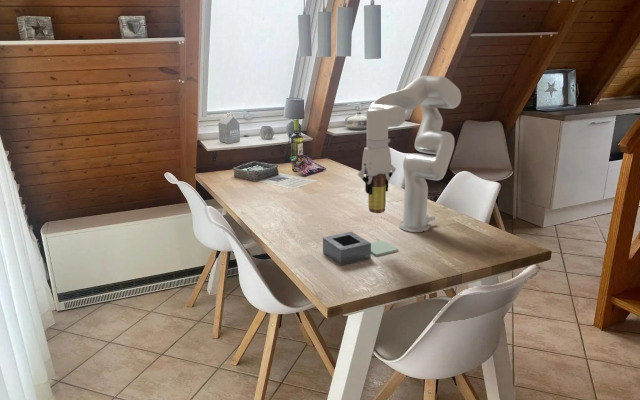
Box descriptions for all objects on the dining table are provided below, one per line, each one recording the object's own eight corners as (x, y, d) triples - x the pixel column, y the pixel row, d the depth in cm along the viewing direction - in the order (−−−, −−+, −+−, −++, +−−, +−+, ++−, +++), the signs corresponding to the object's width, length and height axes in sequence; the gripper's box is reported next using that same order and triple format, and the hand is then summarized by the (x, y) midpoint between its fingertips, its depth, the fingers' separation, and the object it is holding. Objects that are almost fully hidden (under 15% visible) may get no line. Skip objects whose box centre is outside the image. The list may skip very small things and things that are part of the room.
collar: (351, 246, 188) (351, 231, 186) (370, 258, 177) (371, 243, 175) (323, 252, 183) (322, 237, 181) (341, 265, 171) (341, 250, 169)
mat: (382, 242, 191) (382, 240, 191) (398, 251, 183) (398, 249, 183) (361, 247, 187) (361, 245, 187) (376, 256, 179) (376, 254, 178)
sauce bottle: (374, 207, 184) (375, 155, 178) (388, 210, 181) (390, 158, 174) (364, 211, 180) (365, 159, 173) (378, 215, 176) (380, 161, 170)
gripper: (391, 138, 179) (390, 185, 185) (350, 144, 171) (351, 193, 177) (403, 142, 172) (402, 190, 178) (361, 148, 165) (362, 198, 171)
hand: (376, 191), depth 178 cm, fingers closed on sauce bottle, 6 cm apart
